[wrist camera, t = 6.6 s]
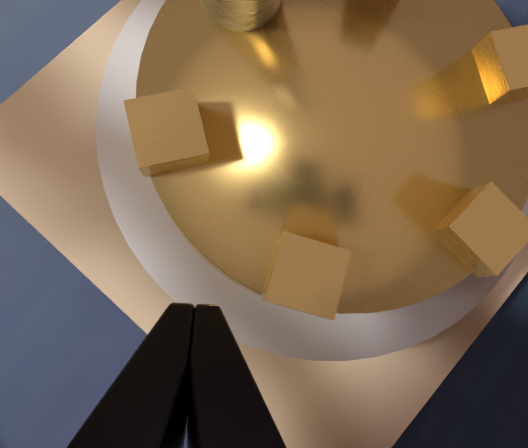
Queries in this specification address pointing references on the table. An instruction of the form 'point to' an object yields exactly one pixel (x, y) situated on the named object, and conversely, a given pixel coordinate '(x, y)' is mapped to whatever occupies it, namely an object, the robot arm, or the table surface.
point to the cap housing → (205, 276)
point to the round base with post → (338, 144)
